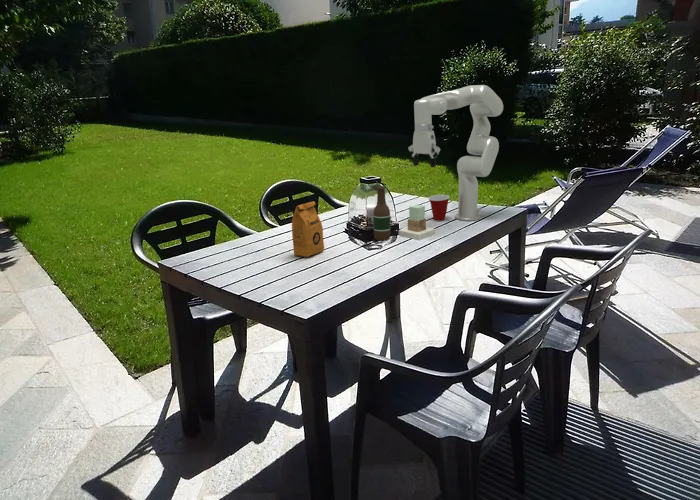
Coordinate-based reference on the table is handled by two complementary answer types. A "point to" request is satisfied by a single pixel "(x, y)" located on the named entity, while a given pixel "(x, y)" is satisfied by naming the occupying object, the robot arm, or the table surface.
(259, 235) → the table surface
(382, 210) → the beer bottle
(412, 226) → the walnut block
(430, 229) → the base slab
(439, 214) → the plastic cup
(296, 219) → the coffee package
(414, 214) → the sage block
